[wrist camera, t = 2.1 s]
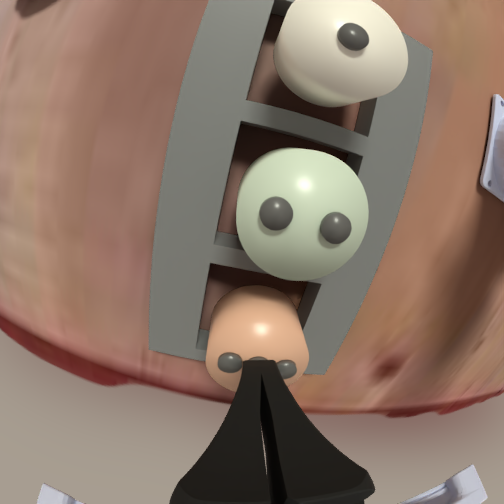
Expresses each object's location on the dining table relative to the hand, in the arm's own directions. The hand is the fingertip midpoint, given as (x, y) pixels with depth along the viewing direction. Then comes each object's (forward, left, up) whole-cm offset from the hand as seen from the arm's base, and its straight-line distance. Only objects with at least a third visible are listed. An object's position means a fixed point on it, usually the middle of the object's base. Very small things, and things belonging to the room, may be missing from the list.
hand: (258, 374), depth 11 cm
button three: (0, 0, -4) cm, 4 cm away
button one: (0, -14, -4) cm, 15 cm away
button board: (0, -7, -6) cm, 9 cm away
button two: (0, -7, -4) cm, 8 cm away
